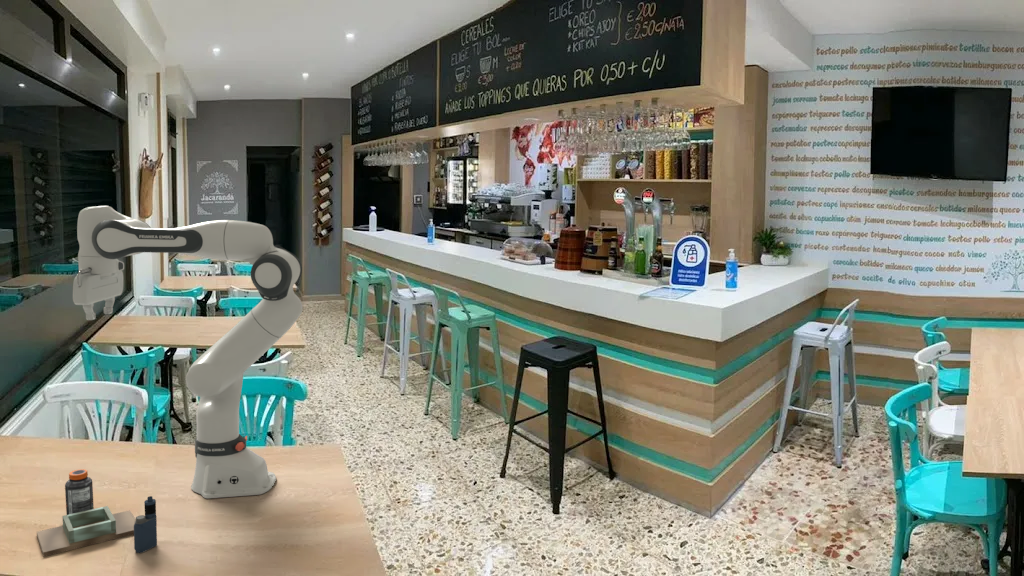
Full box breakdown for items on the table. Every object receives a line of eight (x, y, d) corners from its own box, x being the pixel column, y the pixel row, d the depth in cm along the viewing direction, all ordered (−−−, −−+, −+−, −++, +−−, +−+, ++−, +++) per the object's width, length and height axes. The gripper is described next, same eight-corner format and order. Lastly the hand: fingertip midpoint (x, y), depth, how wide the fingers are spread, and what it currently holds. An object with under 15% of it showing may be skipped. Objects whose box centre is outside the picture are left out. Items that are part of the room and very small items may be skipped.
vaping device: (159, 544, 165) (158, 496, 163) (139, 554, 160) (138, 504, 159) (152, 542, 166) (150, 494, 165) (132, 551, 161) (130, 502, 160)
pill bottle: (74, 508, 181) (72, 466, 180) (98, 508, 182) (96, 467, 180) (61, 519, 175) (59, 476, 174) (86, 519, 176) (84, 476, 174)
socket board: (130, 513, 180) (129, 499, 179) (141, 532, 171) (140, 516, 170) (36, 535, 167) (35, 519, 166) (43, 556, 158) (42, 539, 157)
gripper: (90, 270, 178) (92, 323, 180) (127, 262, 199) (128, 310, 200) (64, 269, 178) (66, 323, 180) (103, 262, 198) (105, 310, 200)
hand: (99, 316), depth 190 cm, fingers open, 8 cm apart
